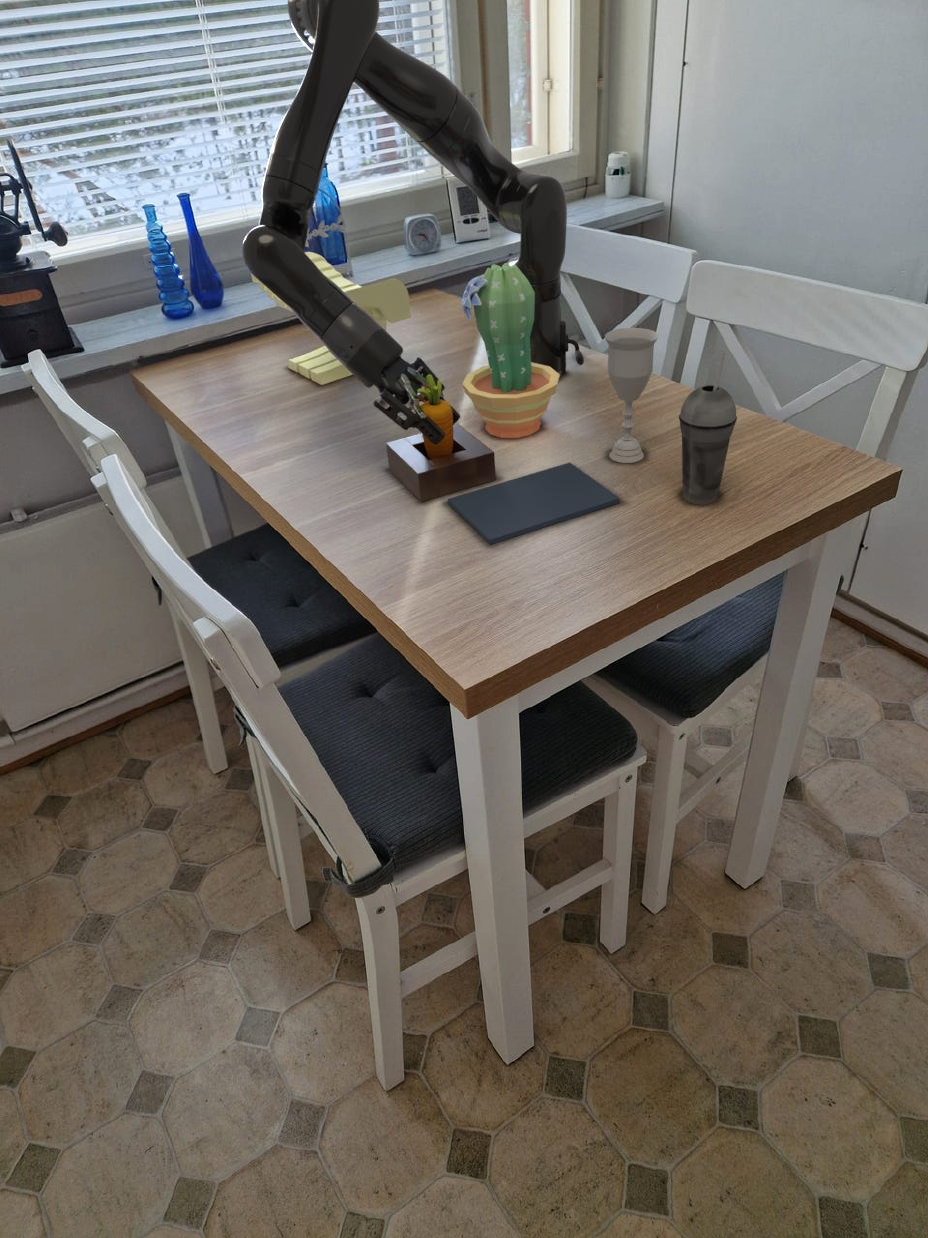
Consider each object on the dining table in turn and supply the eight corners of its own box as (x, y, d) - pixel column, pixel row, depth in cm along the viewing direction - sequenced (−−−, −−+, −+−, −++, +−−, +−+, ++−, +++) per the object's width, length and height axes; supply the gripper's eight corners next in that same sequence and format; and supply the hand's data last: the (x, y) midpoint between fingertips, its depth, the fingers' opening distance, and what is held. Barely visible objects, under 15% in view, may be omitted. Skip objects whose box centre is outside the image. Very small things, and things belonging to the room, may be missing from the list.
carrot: (454, 483, 129) (445, 384, 120) (421, 482, 130) (410, 384, 121) (461, 467, 133) (453, 371, 124) (429, 466, 134) (419, 371, 125)
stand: (460, 450, 138) (458, 423, 135) (496, 480, 129) (494, 451, 126) (389, 470, 134) (385, 442, 131) (421, 502, 125) (417, 473, 122)
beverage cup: (666, 486, 123) (676, 345, 111) (717, 481, 123) (733, 340, 112) (681, 512, 117) (693, 366, 106) (735, 506, 118) (753, 360, 106)
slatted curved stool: (417, 372, 166) (406, 274, 155) (344, 396, 159) (328, 296, 148) (336, 336, 186) (321, 248, 175) (268, 357, 179) (249, 266, 168)
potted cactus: (489, 402, 152) (480, 250, 137) (574, 412, 146) (574, 254, 131) (449, 439, 141) (434, 278, 126) (539, 452, 135) (534, 284, 120)
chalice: (655, 447, 133) (662, 328, 123) (647, 467, 128) (654, 345, 118) (607, 443, 136) (610, 326, 125) (597, 463, 131) (599, 343, 120)
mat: (569, 467, 130) (569, 462, 130) (619, 502, 121) (619, 497, 120) (447, 503, 124) (447, 498, 124) (490, 544, 114) (489, 539, 114)
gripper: (354, 345, 115) (447, 436, 119) (396, 310, 126) (481, 394, 129) (325, 382, 120) (415, 468, 123) (368, 345, 131) (450, 426, 134)
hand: (448, 430), depth 126 cm, fingers open, 5 cm apart
